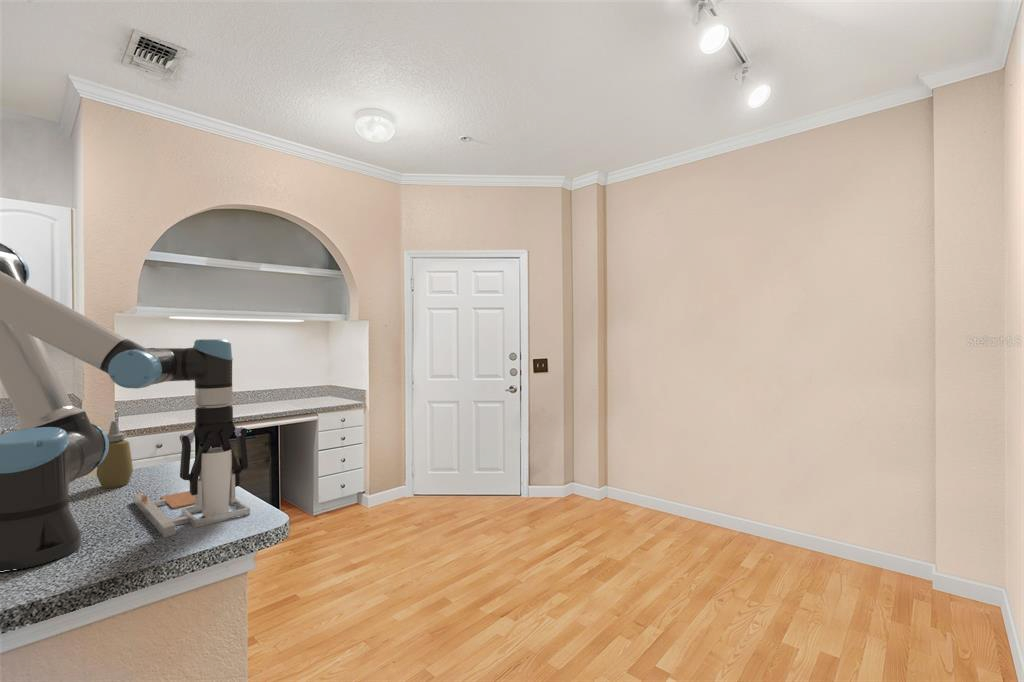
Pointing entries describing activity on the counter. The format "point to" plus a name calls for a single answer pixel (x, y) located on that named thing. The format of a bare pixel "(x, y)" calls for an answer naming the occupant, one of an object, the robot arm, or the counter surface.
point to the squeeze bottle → (115, 460)
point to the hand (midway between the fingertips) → (215, 504)
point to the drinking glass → (215, 481)
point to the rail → (177, 501)
